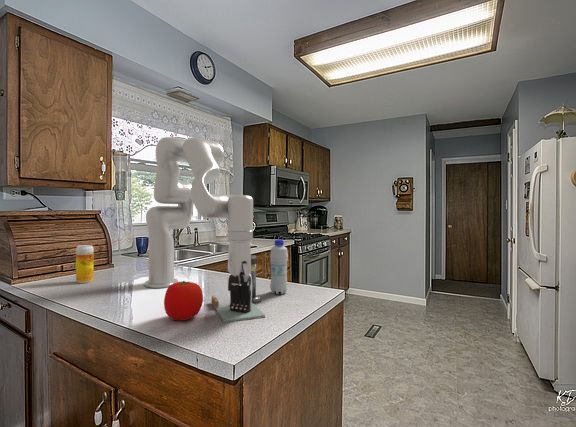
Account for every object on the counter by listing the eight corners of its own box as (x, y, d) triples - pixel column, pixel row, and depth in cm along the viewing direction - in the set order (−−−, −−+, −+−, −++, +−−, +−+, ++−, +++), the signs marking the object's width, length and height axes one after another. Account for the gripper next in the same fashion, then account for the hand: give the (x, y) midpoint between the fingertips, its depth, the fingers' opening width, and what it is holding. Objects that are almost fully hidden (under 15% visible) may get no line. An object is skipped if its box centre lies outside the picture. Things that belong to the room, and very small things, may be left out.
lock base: (243, 300, 108) (243, 295, 108) (257, 298, 109) (257, 294, 109) (247, 304, 103) (247, 300, 103) (262, 302, 105) (262, 298, 105)
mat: (215, 309, 98) (215, 307, 98) (253, 304, 103) (253, 303, 103) (223, 322, 87) (223, 320, 87) (265, 317, 92) (265, 315, 92)
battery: (226, 311, 94) (226, 273, 94) (232, 307, 98) (232, 271, 97) (247, 314, 92) (247, 275, 91) (252, 310, 95) (253, 273, 95)
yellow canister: (87, 283, 127) (87, 246, 127) (72, 283, 127) (72, 246, 127) (96, 280, 133) (96, 244, 133) (82, 280, 133) (82, 244, 133)
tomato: (169, 312, 95) (169, 276, 94) (205, 311, 96) (205, 276, 95) (158, 325, 84) (158, 285, 84) (198, 325, 85) (198, 285, 85)
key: (249, 306, 96) (250, 262, 96) (250, 294, 110) (250, 255, 109) (255, 306, 96) (256, 262, 96) (255, 293, 110) (256, 255, 109)
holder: (211, 302, 104) (211, 295, 104) (242, 299, 108) (242, 292, 108) (215, 309, 98) (215, 301, 98) (247, 305, 102) (247, 298, 102)
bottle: (285, 295, 113) (286, 240, 113) (267, 294, 115) (268, 239, 114) (289, 291, 120) (289, 238, 119) (272, 289, 121) (272, 238, 121)
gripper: (221, 234, 101) (221, 289, 101) (234, 239, 85) (233, 305, 85) (244, 233, 104) (244, 287, 104) (261, 239, 88) (260, 302, 88)
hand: (239, 294), depth 95 cm, fingers open, 7 cm apart
